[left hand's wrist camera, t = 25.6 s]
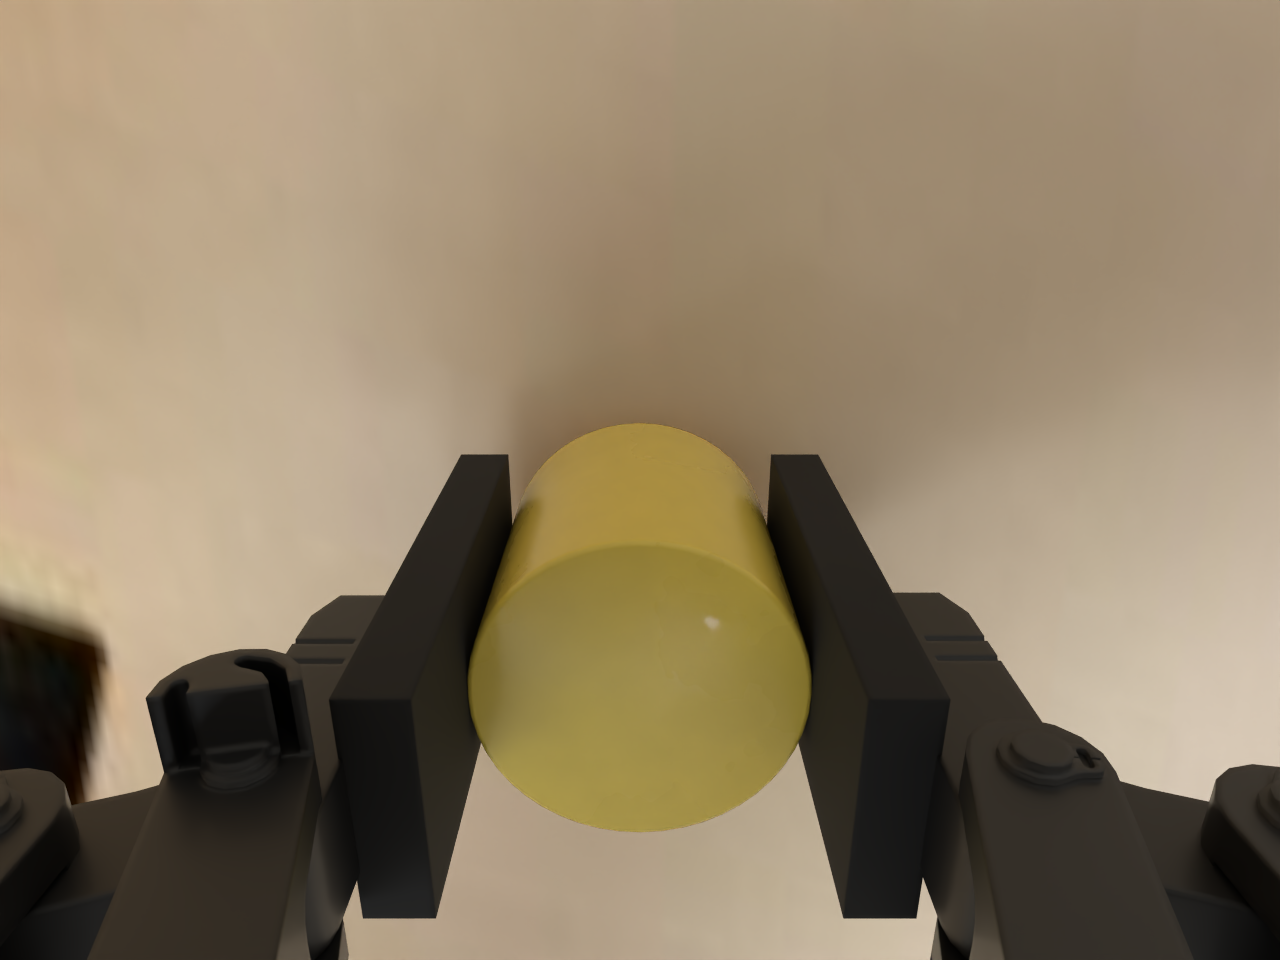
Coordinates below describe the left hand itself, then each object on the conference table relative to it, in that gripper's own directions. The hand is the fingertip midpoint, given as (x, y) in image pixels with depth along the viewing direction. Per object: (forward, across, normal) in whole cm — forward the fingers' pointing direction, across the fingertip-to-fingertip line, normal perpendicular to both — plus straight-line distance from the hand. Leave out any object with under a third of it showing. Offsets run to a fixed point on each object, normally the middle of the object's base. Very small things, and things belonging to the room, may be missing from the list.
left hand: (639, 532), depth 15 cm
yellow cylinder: (0, 0, 0) cm, 0 cm away
